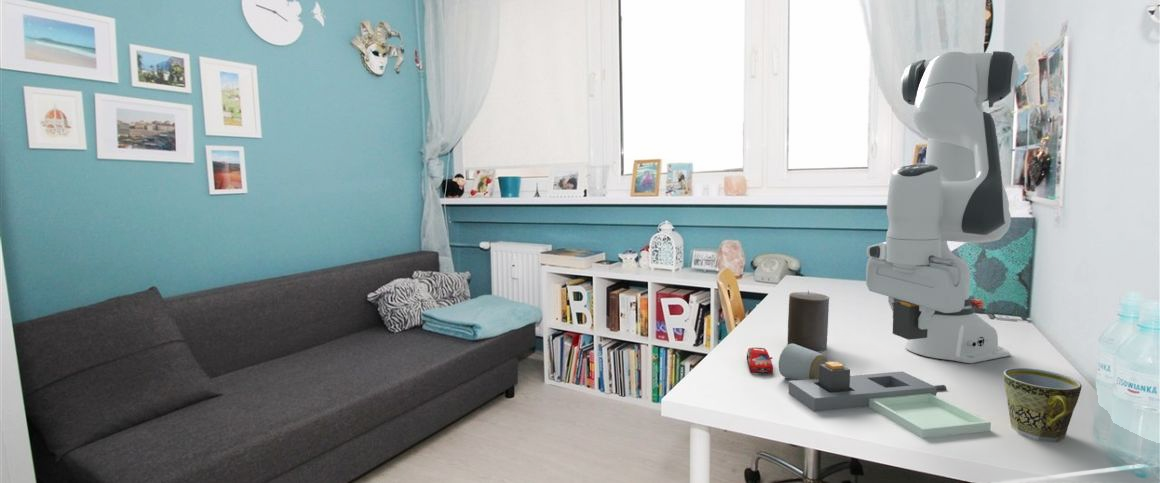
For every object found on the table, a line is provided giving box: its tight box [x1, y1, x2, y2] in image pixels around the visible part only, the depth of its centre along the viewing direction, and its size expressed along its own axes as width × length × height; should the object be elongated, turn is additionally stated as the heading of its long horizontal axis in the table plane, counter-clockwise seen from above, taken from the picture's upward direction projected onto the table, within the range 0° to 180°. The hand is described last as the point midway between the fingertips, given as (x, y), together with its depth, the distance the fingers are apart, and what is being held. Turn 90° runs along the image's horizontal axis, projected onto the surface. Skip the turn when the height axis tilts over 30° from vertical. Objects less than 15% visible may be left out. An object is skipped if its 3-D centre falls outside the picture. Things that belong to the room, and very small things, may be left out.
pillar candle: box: [786, 290, 830, 353], centre depth 141 cm, size 10×10×15 cm
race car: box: [746, 347, 774, 375], centre depth 128 cm, size 13×5×4 cm, turn 166°
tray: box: [868, 393, 992, 439], centre depth 98 cm, size 13×13×2 cm
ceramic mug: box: [778, 344, 829, 381], centre depth 119 cm, size 11×8×8 cm
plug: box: [892, 301, 928, 341], centre depth 103 cm, size 4×4×7 cm
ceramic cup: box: [1003, 367, 1083, 443], centre depth 90 cm, size 13×10×10 cm
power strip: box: [788, 361, 947, 413], centre depth 109 cm, size 32×9×8 cm, turn 99°
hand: (910, 324), depth 103 cm, fingers closed on plug, 4 cm apart
